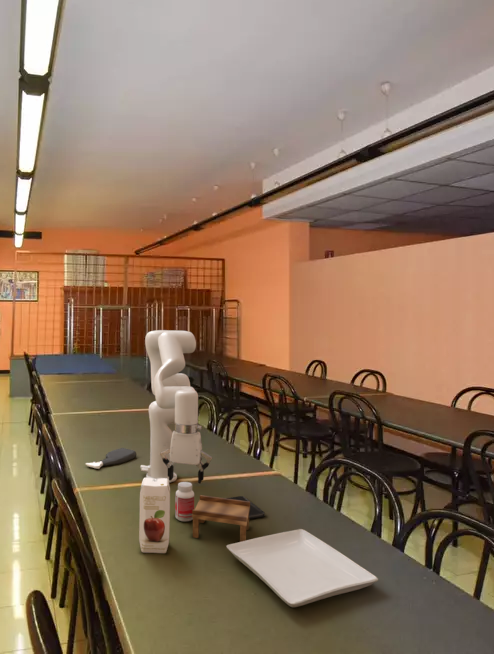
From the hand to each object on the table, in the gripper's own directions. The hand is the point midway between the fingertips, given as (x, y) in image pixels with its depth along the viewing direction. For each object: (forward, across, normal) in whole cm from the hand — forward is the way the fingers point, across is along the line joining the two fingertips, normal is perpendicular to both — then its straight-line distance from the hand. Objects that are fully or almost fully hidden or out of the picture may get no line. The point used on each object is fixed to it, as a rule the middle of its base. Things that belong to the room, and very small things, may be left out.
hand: (185, 480), depth 147 cm
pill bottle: (+13, 0, 0) cm, 13 cm away
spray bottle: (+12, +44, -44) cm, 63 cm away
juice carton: (+13, +4, +20) cm, 25 cm away
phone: (+12, -18, -14) cm, 26 cm away
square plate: (+13, -35, +22) cm, 43 cm away
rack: (+13, -13, +6) cm, 19 cm away
